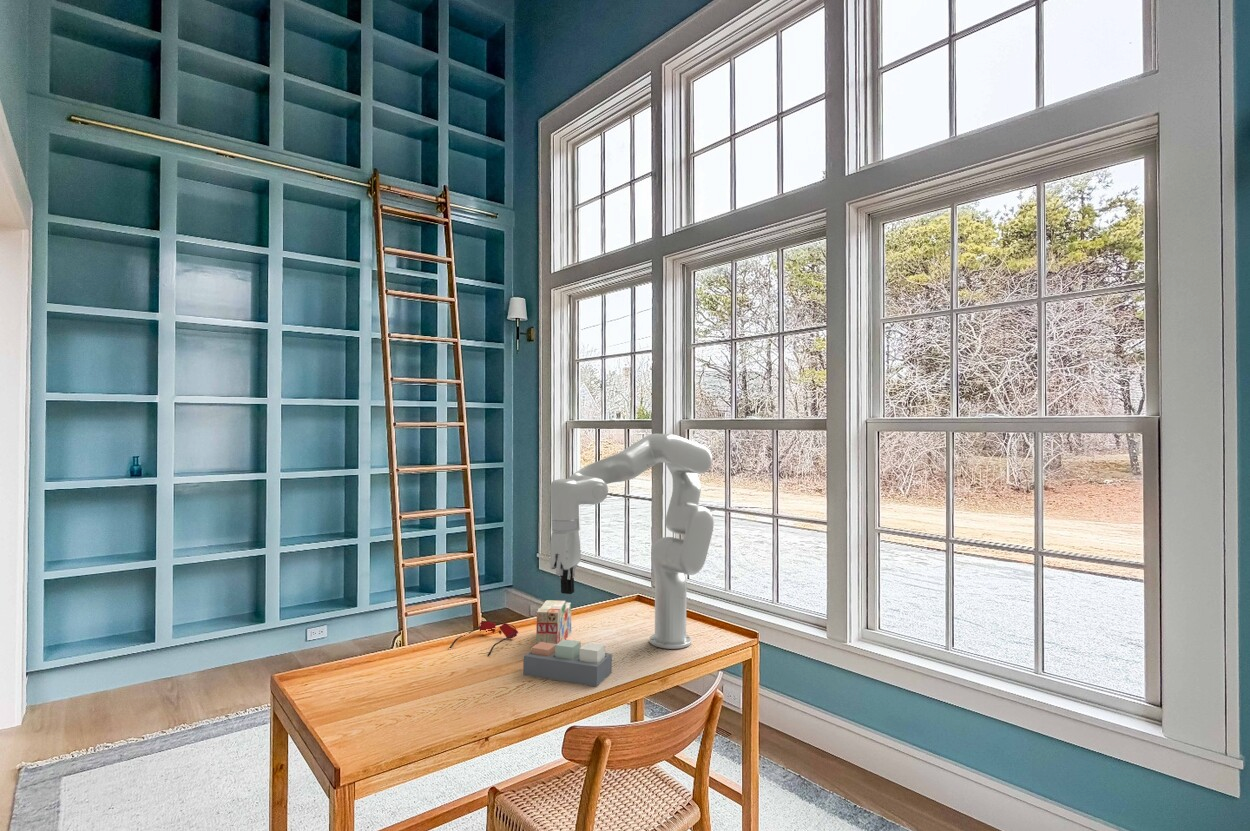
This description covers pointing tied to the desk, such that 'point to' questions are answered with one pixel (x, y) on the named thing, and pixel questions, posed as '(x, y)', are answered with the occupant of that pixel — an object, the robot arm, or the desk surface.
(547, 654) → the terracotta button
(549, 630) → the stack of blocks
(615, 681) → the desk surface
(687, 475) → the robot arm
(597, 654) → the cream button
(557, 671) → the frame
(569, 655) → the sage button
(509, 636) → the glasses
